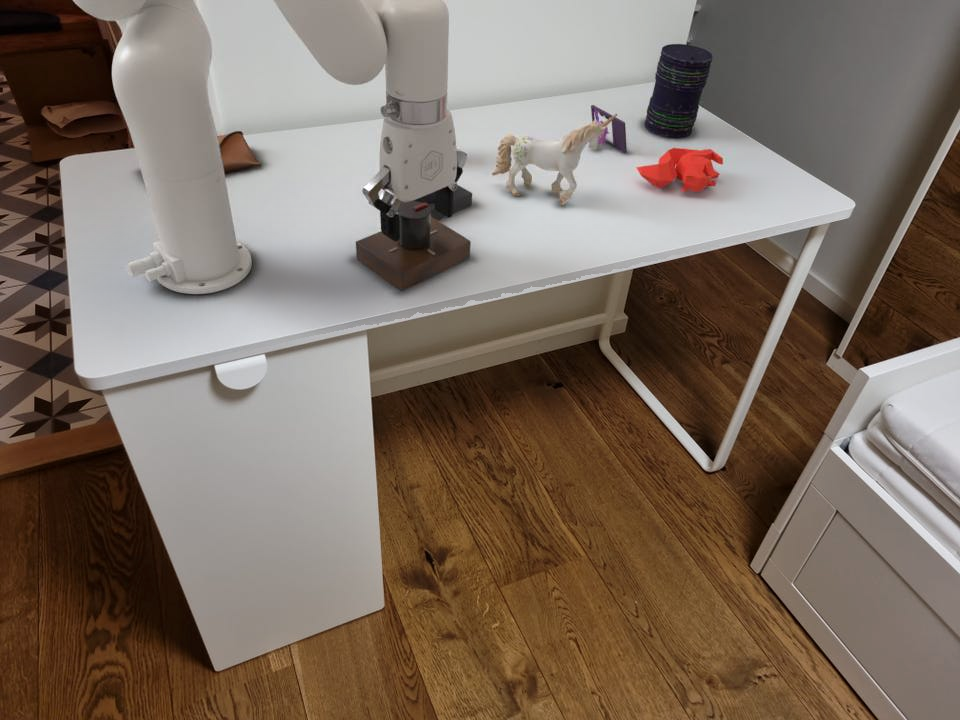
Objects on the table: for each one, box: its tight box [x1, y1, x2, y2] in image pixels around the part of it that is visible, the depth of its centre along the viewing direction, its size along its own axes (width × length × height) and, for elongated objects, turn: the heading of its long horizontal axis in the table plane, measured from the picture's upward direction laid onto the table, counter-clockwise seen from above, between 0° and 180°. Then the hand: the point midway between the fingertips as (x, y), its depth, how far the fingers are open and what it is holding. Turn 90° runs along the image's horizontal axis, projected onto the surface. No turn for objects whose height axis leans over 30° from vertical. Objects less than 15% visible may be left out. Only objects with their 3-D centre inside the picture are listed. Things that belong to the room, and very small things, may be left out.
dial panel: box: [355, 217, 472, 292], centre depth 103 cm, size 13×10×3 cm
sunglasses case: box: [217, 130, 262, 175], centre depth 119 cm, size 18×7×7 cm, turn 127°
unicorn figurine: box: [491, 113, 618, 206], centre depth 117 cm, size 7×20×13 cm, turn 92°
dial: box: [397, 202, 431, 250], centre depth 101 cm, size 5×5×5 cm
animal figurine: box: [635, 147, 724, 193], centre depth 126 cm, size 12×15×5 cm
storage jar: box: [643, 43, 714, 140], centre depth 141 cm, size 10×10×15 cm
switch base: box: [387, 184, 473, 221], centre depth 115 cm, size 11×9×4 cm
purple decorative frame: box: [590, 104, 628, 154], centre depth 135 cm, size 7×5×9 cm
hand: (417, 224), depth 101 cm, fingers open, 9 cm apart
